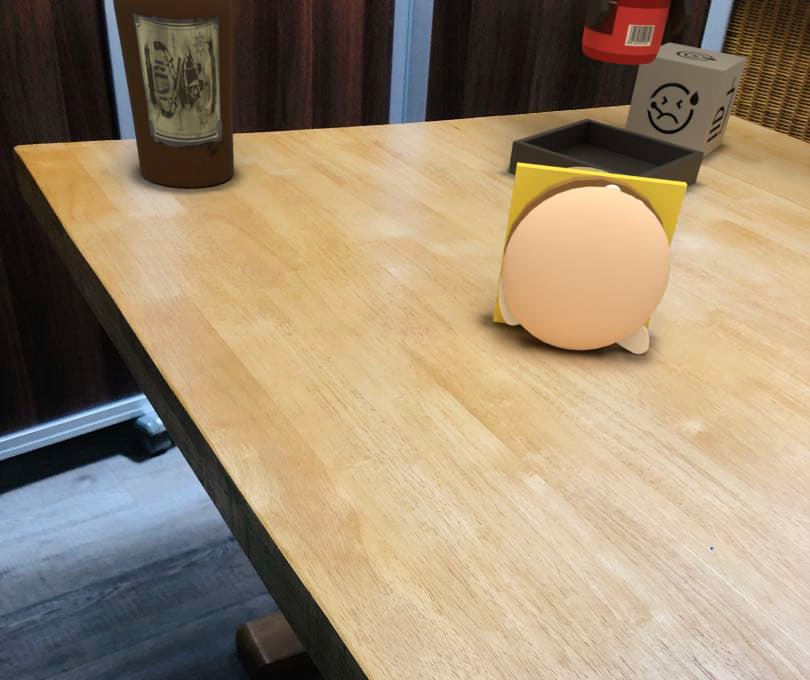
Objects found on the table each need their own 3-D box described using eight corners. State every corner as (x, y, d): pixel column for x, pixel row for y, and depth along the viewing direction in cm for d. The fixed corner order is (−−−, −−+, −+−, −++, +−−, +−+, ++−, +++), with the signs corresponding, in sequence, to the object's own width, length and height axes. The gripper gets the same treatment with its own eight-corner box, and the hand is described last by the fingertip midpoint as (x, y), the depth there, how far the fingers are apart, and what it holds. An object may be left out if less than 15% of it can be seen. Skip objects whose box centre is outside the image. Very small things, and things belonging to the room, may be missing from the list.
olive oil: (133, 156, 92) (95, -143, 75) (233, 155, 94) (218, -134, 78) (136, 192, 84) (95, -132, 68) (246, 190, 87) (232, -122, 70)
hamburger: (489, 353, 65) (514, 190, 57) (494, 305, 71) (518, 152, 63) (649, 373, 64) (697, 212, 56) (640, 323, 71) (682, 172, 63)
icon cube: (721, 143, 112) (747, 57, 106) (698, 161, 106) (724, 71, 99) (648, 126, 116) (669, 42, 109) (621, 142, 109) (642, 54, 103)
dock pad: (695, 182, 100) (704, 152, 97) (629, 213, 90) (636, 180, 88) (581, 146, 107) (586, 118, 104) (508, 172, 97) (512, 141, 95)
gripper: (690, -161, 90) (716, 50, 88) (500, -179, 85) (525, 43, 84) (732, -229, 82) (761, 0, 81) (526, -253, 78) (554, -10, 77)
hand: (641, 22), depth 82 cm, fingers closed on canned food, 8 cm apart
